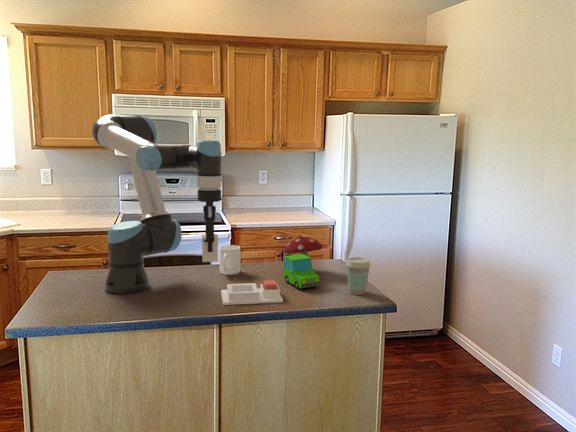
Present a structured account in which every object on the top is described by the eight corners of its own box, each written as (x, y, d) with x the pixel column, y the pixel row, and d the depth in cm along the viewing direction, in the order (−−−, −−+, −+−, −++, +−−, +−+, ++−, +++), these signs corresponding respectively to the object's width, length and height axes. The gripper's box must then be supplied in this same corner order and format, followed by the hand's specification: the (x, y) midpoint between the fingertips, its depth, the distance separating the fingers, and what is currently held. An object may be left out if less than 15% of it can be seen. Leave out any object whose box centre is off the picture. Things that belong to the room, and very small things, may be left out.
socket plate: (222, 304, 161) (222, 295, 161) (221, 292, 174) (221, 282, 173) (283, 302, 165) (283, 292, 164) (276, 289, 177) (277, 280, 177)
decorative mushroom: (282, 276, 193) (282, 239, 190) (283, 265, 209) (284, 231, 206) (322, 277, 193) (324, 240, 190) (321, 266, 208) (322, 232, 206)
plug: (202, 262, 160) (202, 231, 158) (202, 258, 164) (201, 228, 163) (218, 261, 160) (217, 231, 159) (217, 257, 165) (217, 228, 164)
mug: (233, 278, 190) (233, 252, 188) (213, 277, 191) (213, 251, 189) (242, 270, 201) (242, 245, 199) (223, 268, 203) (223, 244, 201)
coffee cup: (370, 290, 179) (372, 258, 177) (366, 297, 171) (368, 264, 169) (347, 287, 181) (349, 256, 179) (342, 294, 173) (343, 261, 171)
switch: (265, 290, 167) (265, 284, 167) (263, 285, 172) (263, 280, 172) (276, 290, 168) (276, 284, 167) (274, 285, 173) (274, 279, 172)
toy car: (298, 292, 175) (298, 265, 174) (281, 282, 187) (281, 256, 185) (322, 288, 180) (323, 262, 178) (304, 278, 192) (305, 253, 190)
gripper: (222, 192, 150) (222, 265, 154) (219, 185, 168) (220, 251, 172) (197, 192, 149) (198, 266, 153) (197, 185, 166) (198, 252, 170)
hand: (209, 258), depth 162 cm, fingers closed on plug, 5 cm apart
